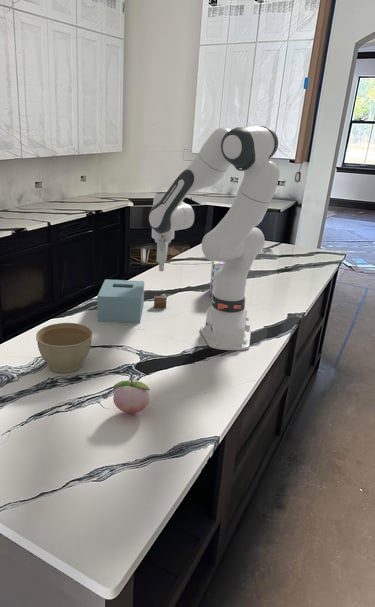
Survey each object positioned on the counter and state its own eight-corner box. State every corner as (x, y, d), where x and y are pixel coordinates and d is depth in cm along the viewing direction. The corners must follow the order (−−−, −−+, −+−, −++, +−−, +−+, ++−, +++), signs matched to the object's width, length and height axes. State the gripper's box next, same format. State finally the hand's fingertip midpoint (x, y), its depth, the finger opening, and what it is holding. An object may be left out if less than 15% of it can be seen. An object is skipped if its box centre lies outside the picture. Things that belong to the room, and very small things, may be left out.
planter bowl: (37, 381, 129) (34, 347, 125) (39, 355, 143) (36, 324, 139) (94, 376, 133) (94, 343, 129) (90, 351, 148) (90, 321, 144)
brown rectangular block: (166, 308, 187) (166, 298, 186) (154, 307, 187) (154, 297, 185) (166, 306, 189) (166, 296, 187) (154, 306, 189) (154, 296, 187)
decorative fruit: (150, 403, 122) (151, 371, 118) (148, 422, 114) (149, 388, 111) (114, 402, 121) (114, 369, 118) (111, 421, 114) (110, 386, 110)
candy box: (223, 300, 200) (226, 264, 194) (210, 299, 200) (213, 263, 194) (222, 289, 213) (225, 255, 207) (209, 289, 213) (212, 255, 207)
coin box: (140, 322, 172) (140, 298, 168) (97, 321, 171) (97, 296, 168) (143, 303, 190) (144, 281, 187) (105, 302, 190) (105, 279, 186)
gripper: (170, 240, 167) (169, 275, 172) (171, 228, 186) (170, 260, 191) (153, 239, 167) (152, 274, 172) (156, 227, 186) (155, 260, 191)
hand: (161, 267), depth 182 cm, fingers open, 8 cm apart
